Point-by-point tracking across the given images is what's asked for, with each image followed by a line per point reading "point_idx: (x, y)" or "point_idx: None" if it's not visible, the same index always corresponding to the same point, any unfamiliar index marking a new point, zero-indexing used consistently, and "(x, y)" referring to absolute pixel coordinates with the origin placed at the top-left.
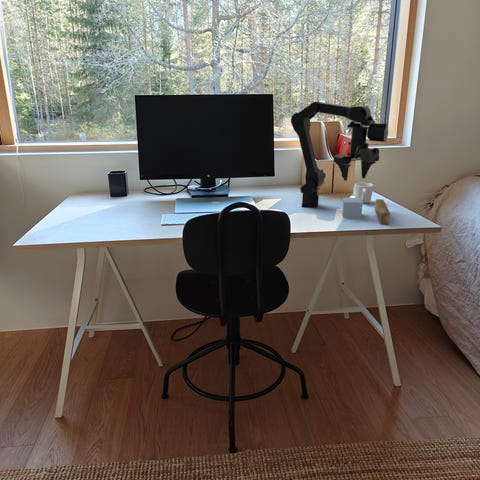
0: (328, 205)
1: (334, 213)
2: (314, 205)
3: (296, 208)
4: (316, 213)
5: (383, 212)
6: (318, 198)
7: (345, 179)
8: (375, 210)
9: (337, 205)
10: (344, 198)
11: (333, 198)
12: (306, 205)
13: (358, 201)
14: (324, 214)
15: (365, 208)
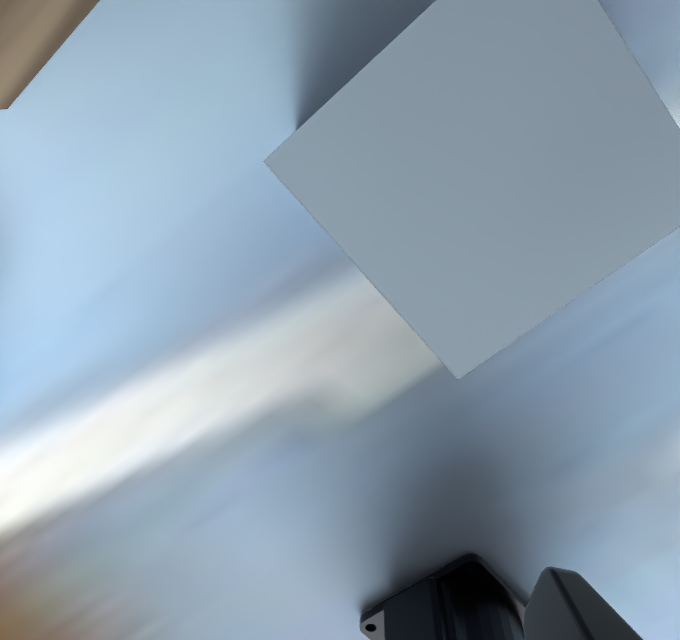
0: (314, 529)
1: None
2: (462, 588)
3: None
4: (650, 441)
5: None
6: (437, 636)
7: (594, 614)
8: (48, 52)
9: (241, 480)
10: (496, 332)
11: (87, 628)
12: (522, 626)
13: (505, 34)
14: (628, 370)
15: (68, 223)
